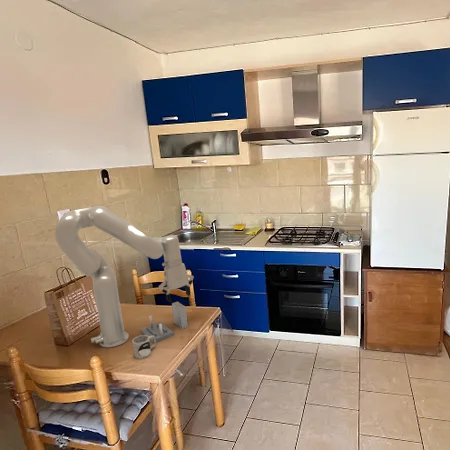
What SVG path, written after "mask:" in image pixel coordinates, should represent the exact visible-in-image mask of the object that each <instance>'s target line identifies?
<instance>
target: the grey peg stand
mask: <svg viewBox="0 0 450 450" xmlns="http://www.w3.org/2000/svg"><path fill="white" fill-rule="evenodd" d="M148 317H149V325H148V326H145V327H142V328H140V333H141V334H142V335H147V336H152V335H154V336H155V339H156V343H158V342H161V341H163V340H166V339H169V338H172V337H174V336H175V334H174V332H173V331H172V330H171V329H170V328H168V326H167V325H165V324H164V323H163V322H161V321H160V322H157V323H154V321H153V315H149V316H148ZM150 343H151V344H153V338H152V339H150Z"/></svg>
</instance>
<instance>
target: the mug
mask: <svg viewBox="0 0 450 450" xmlns="http://www.w3.org/2000/svg"><path fill="white" fill-rule="evenodd" d="M152 338H153V343H151V341H150V339H152ZM131 341H132V349H133V353H134V358H135V359H146V358H148V357H150V355H152V349H154V347H155V346H156V345H157V342H156V339H155V336H154V335H152V336H147V335H144V334H141V335H138V336H135V337H134V338H132V340H131Z"/></svg>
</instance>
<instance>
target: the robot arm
mask: <svg viewBox="0 0 450 450" xmlns="http://www.w3.org/2000/svg"><path fill="white" fill-rule="evenodd" d="M90 227H95V228H97V229H99V230H101V231H103V232H104V233H106V234H108V235H109V236H112V237H114V238H115V239H117V240H119V241H120V242H121V243H123V244H124V245H125V244H126V245H127V246H129V247H131V248H132V249H133V250H135V251H136V252H138V253H141V254H143V255H144V256H146V257H148V258H150V259H152V260H157V259H159V258H161V257H163V260H164V262H162V264H161V265H162V267H163V269H164V270H163V276H164V280H163V282H161V284H159V285H158V289H159V290H160V292H162V293H164V294H165V298H166V301H168V302H169V303H173V301H172V297H171V293H170V292H171V290H172V291H173V290H176V289H180V288H182V287H184V288H185V294H186V295H187V296H188V297H189V296H191V286H192V283H193V280H194V275H192V274H189V273H188V271H187V269H186V268H187V267H186V265H185V263H183V261H182V255H181V248H180V241H179V237H178V236H177V235H176V234H171V235H170V234H169V235H165V236H161V237H160V236H159V237H150V236H148V235H146V234H144V232H142V231H141V230H139V229H138V228H137V226H135V225H133V224H132V222H130V221H128V220H126V219H124V218H122V217H120V216H119V215H117V214H115V213H114V212H112V211H110V210H109V209H108V207H106V206H103V205H93V206H89V207H84V208H80V209H74V210H73V209H72V210H70V211H67V212H65V213H64V214H63V215H62V216H61V217H60V218H59V220H58V222H57V224H56V227H55V231H54V238H55V242H56V244H57V246H58V247H59V248H60V249H61V251H62V252H63V254H65V256H67V258H68V259H69V260H70V261H71V263H72V264H73V265H74V266H75V268H76V269H77V270H78V271H79V272H80V273H82V274H83V275H85V276H89V277H90V278H91V279H92V289H93V295H94V300H95V305H96V310H97V314H98V321H99V326H100V332H99V334H98V335H97V336H95V337H91V338H90V342H91V344H92V343H95V344H99V346H100V347H103V348H113V347H118V346H120V345H123V344H124V343H126V342H127V341H128V340H129V339H130V338H129V337H130V335H129V332H126V331H125V327H124V321H123V316H122V315H123V313H122V307H121V302H120V295H119V290H118V283H117V277H116V272H115V270H114V269H113V268H112V267H111V265H110V264H109V263H108V262H107V260H105V258H104V257H103V256H102V255H101V254H100V253H99V251H98V250H96V249H93V248H89V247H88V245H87V244H86V243H85V241H84V240H82V239H81V238H80V237H79V231H80V230H81V229H85V228H90ZM164 287H165V289H164Z"/></svg>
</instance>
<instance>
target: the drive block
mask: <svg viewBox="0 0 450 450" xmlns="http://www.w3.org/2000/svg"><path fill="white" fill-rule="evenodd" d="M171 307H172V315H173V322H174V324H175V326H177V327H179V328H180V329H181V330H183V329H185V328H188V327H189V324H188V317H187V309H186V306H185V305H183V304H182V303H180V302H179V301H175V302H171Z"/></svg>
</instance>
